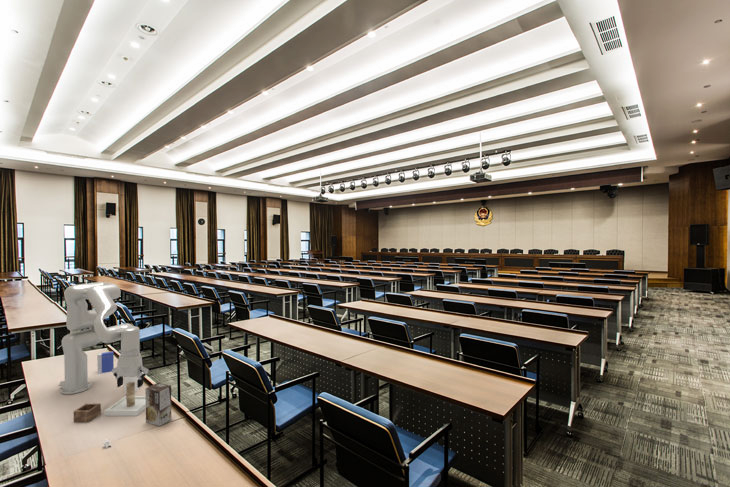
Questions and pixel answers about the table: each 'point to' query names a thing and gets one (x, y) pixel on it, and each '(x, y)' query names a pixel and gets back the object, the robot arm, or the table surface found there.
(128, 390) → the dowel
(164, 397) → the coffee box
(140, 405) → the tray
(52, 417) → the table surface
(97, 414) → the square wooden box
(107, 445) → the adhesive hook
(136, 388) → the cylindrical container
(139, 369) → the robot arm
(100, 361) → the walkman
